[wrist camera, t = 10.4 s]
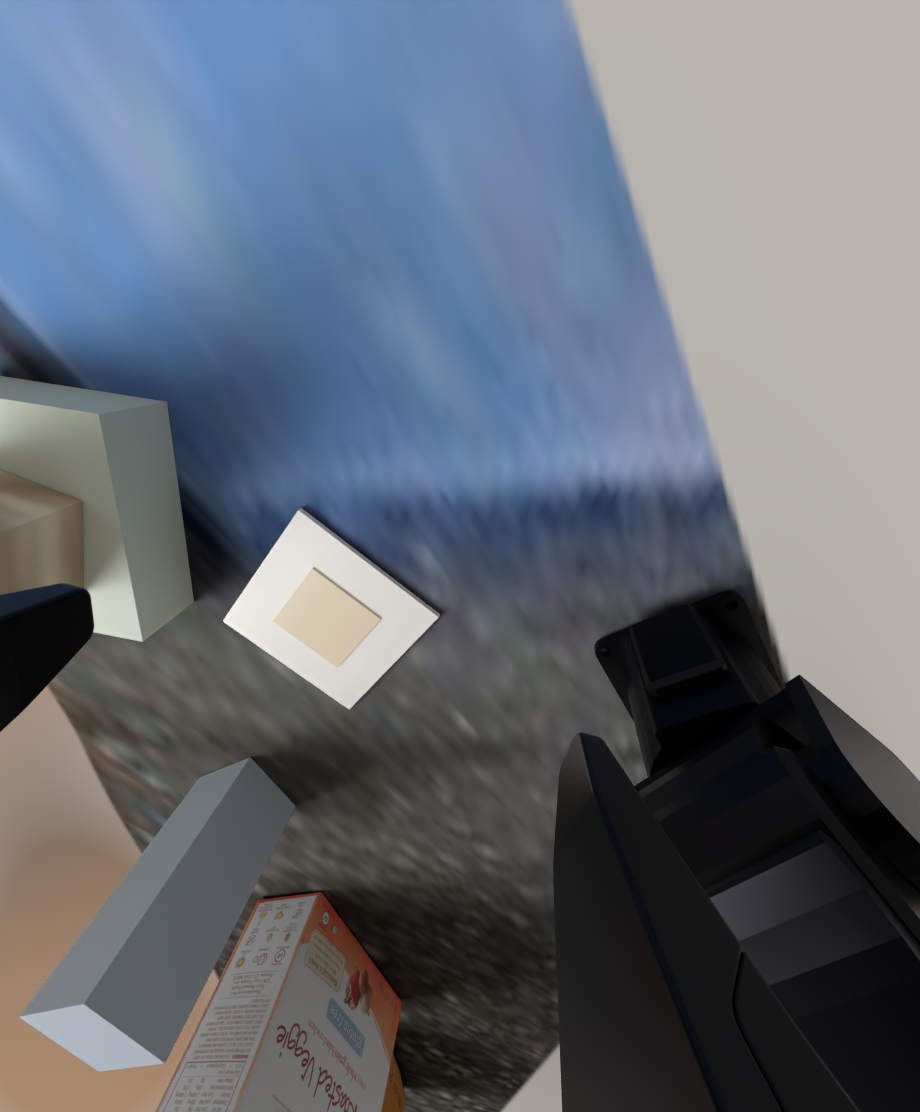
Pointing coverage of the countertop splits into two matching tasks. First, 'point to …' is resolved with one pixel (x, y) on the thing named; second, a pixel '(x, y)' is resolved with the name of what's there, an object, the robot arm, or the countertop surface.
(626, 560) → the countertop surface
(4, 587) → the beech pillar
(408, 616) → the card
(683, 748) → the robot arm
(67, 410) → the sage slab
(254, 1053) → the cracker box
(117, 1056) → the grey-blue pillar
